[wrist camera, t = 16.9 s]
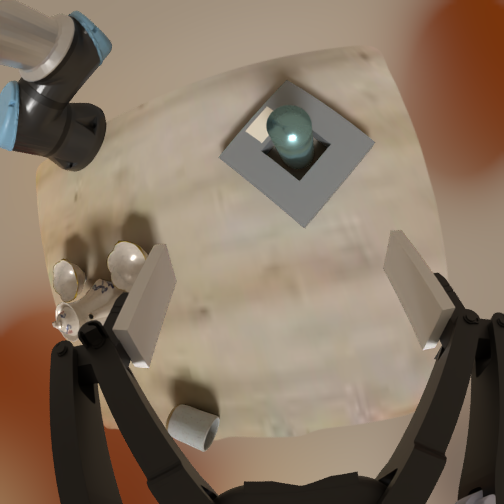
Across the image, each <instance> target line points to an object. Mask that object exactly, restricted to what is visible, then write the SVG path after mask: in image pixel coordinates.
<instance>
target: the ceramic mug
mask: <svg viewBox="0 0 504 504" xmlns="http://www.w3.org/2000/svg"><path fill="white" fill-rule="evenodd" d="M218 426H219V417H218V416H216V415H213V414H210V413H207V412H204V411H201V410H198V409H195V408H193V407H190V406H188V405H183V404H179V405H177V406H175V407H174V408H173V409H172V411H171V412H170V414H169V416H168V419H167V422H166V430H167V431H168V433H169V434H170V436H172V437H173V438H175V439H177V440H179V441H181V442H184V443H186V444H188V445H190V446H192V447H194V448H196V449H199V450H201V451H206V450H207V449H208V448H209V447H210V445H211V444H212V442H213V440H214V437H215V435H216V433H217V430H218Z"/></svg>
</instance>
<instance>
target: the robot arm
mask: <svg viewBox="0 0 504 504" xmlns="http://www.w3.org/2000/svg"><path fill="white" fill-rule="evenodd" d="M111 49H112V44H111V42H110V40H109V39H108V38H107V37H106V36H105V34H104V33H103V32H102V31H101V30H100V29H99V28H97V27H96V26H95V25H94V23H92V22H91V21H90V20H89V19H88V18H87V17H86V16H85V15H83V14H82V13H80V12H79V11H74V12H72V13H71V14H69V15H64V14H57V15H54V16H51V17H49V16H46V15H45V14H43V13H41V12H39V11H37V10H35V9H33V8H31V7H29V6H27V5H25V4H23V3H20V2H19V1H16V0H0V65H4V66H9V67H14V68H18V69H19V73H20V75H21V79H20V80H19V82H17V81H11V82H9V83H8V84H7V85H6V86H5V87H4V88H3V90H2V92H1V94H0V148H3V149H7V150H8V151H17V152H22V153H28V154H33V155H39V156H43V157H47V158H49V159H50V160H51V161H53V162H54V163H55V164H57V165H58V166H59V167H61V168H62V169H65V170H69V171H79V170H81V169H83V168H85V167H86V166H87V165H88V164H89V163H90V162H91V161H92V160H93V159H94V157H95V156H96V154H97V153H98V151H99V149H100V147H101V144H102V142H103V139H104V135H105V129H106V120H105V116H104V113H103V111H102V110H101V109H100V108H99V107H97V106H95V105H93V104H89V103H69V101H70V100H71V99H72V98H73V96H74V95H75V94H76V93H77V91H78V90H79V89H80V88H81V87H82V85H83V84H84V83H85V82H86V80H87V79H88V78H89V77H90V76H91V75H92V74H93V72H94V71H95V70H96V69H97V68H98V67H99V66H100V65H101V64H102V62H103V60H104V59H105V58H106V57H107V55H108V54H109V53H110V51H111ZM383 269H384V271H385V273H386V275H387V277H388V278H389V280H390V282H391V284H392V286H393V288H394V290H395V292H396V294H397V296H398V298H399V300H400V302H401V304H402V306H403V308H404V310H405V312H406V314H407V316H408V319H409V321H410V323H411V325H412V327H413V329H414V332H415V334H416V336H417V338H418V341H419V343H420V345H421V347H422V350H426V349H430V348H435V346H436V345H437V343H438V341H439V339H440V342H441V344H442V346H441V348H440V350H439V352H438V353H437V355H436V357H435V358H434V359H436V362H435V365H434V367H433V370H432V373H431V375H430V378H429V380H428V383H427V385H426V388H425V390H424V393H423V395H422V397H421V400H420V402H419V404H418V406H417V409H416V411H415V413H414V415H413V417H412V419H411V421H410V424H409V425H408V427H407V429H406V431H405V433H404V435H403V437H402V439H401V441H400V443H399V444H398V446H397V448H396V450H395V452H394V453H393V455H392V457H391V458H390V460H389V462H388V463H387V464H386V466H385V467H384V468H383V469H382V470H381V472H380V473H379V475H378V476H377V477H376V479H373V478H369V477H364V476H358V472H353V473H347V474H342V475H336V476H330V477H327V478H324V479H322V480H319V481H316V482H314V483H310V484H307V485H304V486H298V485H291V484H285V483H279V482H273V481H265V482H244V485H243V486H239V487H235V488H232V489H230V490H228V491H226V492H224V493H222V494H220V495H219V496H218V495H217V494H216V492H215V491H214V490H213V489H212V488H211V487H210V486H209V484H208V483H207V482H206V481H205V480H204V479H203V478H202V477H201V476H200V475H199V473H198V472H197V471H196V470H195V468H194V467H193V466H192V465H191V463H190V462H189V461H188V459H187V458H186V457H185V455H184V454H183V453H182V451H181V450H180V448H179V447H178V446H177V444H176V443H175V441H174V440H173V438H172V437H171V436H170V434H169V433H168V431H167V430H166V428H165V427H164V425H163V424H162V422H161V421H160V419H159V417H158V416H157V414H156V413H155V411H154V409H153V408H152V406H151V405H150V403H149V401H148V400H147V398H146V396H145V394H144V393H143V391H142V389H141V388H140V386H139V384H138V382H137V380H136V379H135V377H134V375H133V373H132V371H131V369H130V368H129V367H128V366H129V363H130V360H131V361H132V363H133V364H134V366H135V367H143V368H149V366H150V363H151V359H152V356H153V353H154V349H155V346H156V343H157V340H158V336H159V333H160V330H161V327H162V324H163V320H164V317H165V314H166V311H167V308H168V305H169V302H170V299H171V296H172V293H173V290H174V287H175V284H176V282H177V280H176V277H175V274H174V270H173V267H172V263H171V260H170V256H169V253H168V249H167V246H166V244H158V245H154V246H153V248H152V250H151V252H150V253H149V255H148V257H147V259H146V261H145V263H144V265H143V267H142V269H141V271H140V272H139V274H138V276H137V278H136V280H135V282H134V284H133V286H132V288H131V290H130V292H123V293H122V294H121V295H120V296H119V297H118V298H117V299H116V301H115V303H114V305H113V308H111V310H110V313H109V315H108V317H107V319H106V321H105V323H104V325H102V324H101V322H100V321H97V320H91V321H88V322H86V323H85V324H83V325H82V326H81V327H80V329H79V331H78V338H79V340H80V341H81V342H82V344H83V345H80V346H75V347H74V346H73V345H72V343H71V342H70V341H67V340H65V341H61V342H59V343H58V344H56V345H55V346H54V348H53V349H52V353H51V366H50V367H51V368H50V427H51V440H52V452H53V460H54V468H55V475H56V481H57V487H58V492H59V497H60V502H61V504H123V503H122V500H121V497H120V494H119V490H118V487H117V483H116V480H115V476H114V472H113V468H112V464H111V460H110V456H109V452H108V447H107V442H106V437H105V432H104V426H103V420H102V414H101V407H100V400H99V392H98V384H97V383H99V385H100V388H101V390H102V393H103V395H104V397H105V400H106V402H107V404H108V406H109V408H110V411H111V413H112V415H113V417H114V419H115V421H116V423H117V425H118V427H119V429H120V431H121V433H122V435H123V437H124V439H125V441H126V443H127V445H128V447H129V448H130V450H131V452H132V454H133V456H134V457H135V459H136V461H137V462H138V464H139V466H140V467H141V469H142V471H143V472H144V474H145V476H146V477H147V485H148V487H149V489H150V491H151V492H152V494H153V495H154V497H155V498H156V500H157V501H158V503H159V504H425V503H426V502H427V500H428V498H429V496H430V495H431V493H432V491H433V489H434V487H435V485H436V483H437V481H438V479H439V477H440V475H441V473H442V471H443V469H444V466H445V464H446V459H447V458H446V456H445V452H446V449H447V446H448V444H449V442H450V439H451V436H452V434H453V431H454V428H455V426H456V423H457V420H458V417H459V414H460V411H461V408H462V405H463V402H464V398H465V395H466V391H467V387H468V384H469V380H470V376H471V405H470V420H469V429H468V437H467V445H466V452H465V458H464V463H463V469H462V474H461V479H460V484H459V491H458V501H457V502H456V503H455V504H504V314H502V313H495V314H493V316H492V318H491V320H488V319H487V320H486V319H480V318H479V316H478V315H477V314H476V313H475V312H474V311H472V310H469V309H465V307H464V306H463V304H462V303H461V301H460V300H459V298H458V297H457V295H456V293H455V292H453V289H452V288H451V286H450V285H449V283H448V282H447V280H446V279H445V278H444V277H443V276H442V275H440V274H439V273H433V272H432V271H431V269H430V268H429V266H428V265H427V264H426V262H425V261H424V259H423V258H422V257H421V255H420V254H419V253H418V251H417V250H416V248H415V247H414V246H413V244H412V243H411V242H410V240H409V239H408V238H407V237H406V235H405V234H404V233H403V231H402V230H396V231H390V237H389V243H388V248H387V253H386V258H385V263H384V267H383Z"/></svg>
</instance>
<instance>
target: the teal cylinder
mask: <svg viewBox="0 0 504 504" xmlns="http://www.w3.org/2000/svg"><path fill="white" fill-rule="evenodd" d="M266 128H267V132H268V134H269V136H270V138H271V140H272V142H273V144H274V145H275V147H276V149H277V151H278V153H279V155H280V156H281V158H282V160H283V162H284V163H285V164H286V165H287V166H288V167H290V168H293V169H302V168H305V167H307V166H308V165H309V164H310V163H311V162H312V160H313V158H314V145H313V133H312V123H311V119H310V117H309V115H308V114H307V112H306V111H305V110H303V109H302V108H300V107H298V106H294V105H285V106H281V107H278V108H277V109H275V110H274V111H273V112H272V113H271V114H270V115H269V117H268V119H267V123H266Z"/></svg>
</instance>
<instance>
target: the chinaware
mask: <svg viewBox="0 0 504 504" xmlns="http://www.w3.org/2000/svg"><path fill="white" fill-rule="evenodd" d="M147 257H148V255H147V253H146V252H145V251H144V250H143V249H142V248H141V247H140V246H138V245H137V244H135V243H132V242H128V241H118V242H117V243H116V244H115V247H114V250H113V251H112V252H111V253H110V254H109V256H108V258H107V267H108V269H109V271H110V273H111V281H112V282H109V281H105V280H102V279H98V280H97V281H96V282H95V283H94V285H93V286H92V288H91V289H90V290H89V291H88V292H87V293H86V295H85V296H84V297H83V298H81V299H80V300H78V301H76V302H73V303H66V302H70V301H72V300H74V299H75V298H76V297H77V295H78V294H80V292H81V291H82V289H83V287H84V284H85V282H86V280H87V279H86V276H85V273H84V272H83V271H82V270H81V269H80V268H79V267H78V266H77V265H75V264H73V263H70V262H69V261H67V259H62V260H61V261H60V262H58V263H56V264H55V265H54V267H53V273H54V276H55V277H54V280H53V287H54V289H55V291H56V292H57V293H58V294H59V295H60V296H61V299H62V300H63V301H64V302H61V303H60V304H58V305H57V309H56V321H54V322H53V323H52V324H53V327H55V328H57V329H59V330H60V332H61V333H62V334H63V336H64V337H65V338H66V339H68V340H69V341H73V342H74V341H76V340H78V331H79V329H80V327H81V326H82V325H83V324H85V323H86V322H88V321H91V320H97V321H100V322H101V324H102V325H104V323H105V321H106V319H107V317H108V315H109V313H110V310H111V308H113V305H114V303H115V301H116V299H117V298H118V297H119V296H120V295H121V294H122V293H123V292H130V290H131V288H132V286H133V284H134V282H135V280H136V278H137V276H138V274H139V272H140V271H141V269H142V267H143V265H144V263H145V261H146V259H147Z"/></svg>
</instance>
